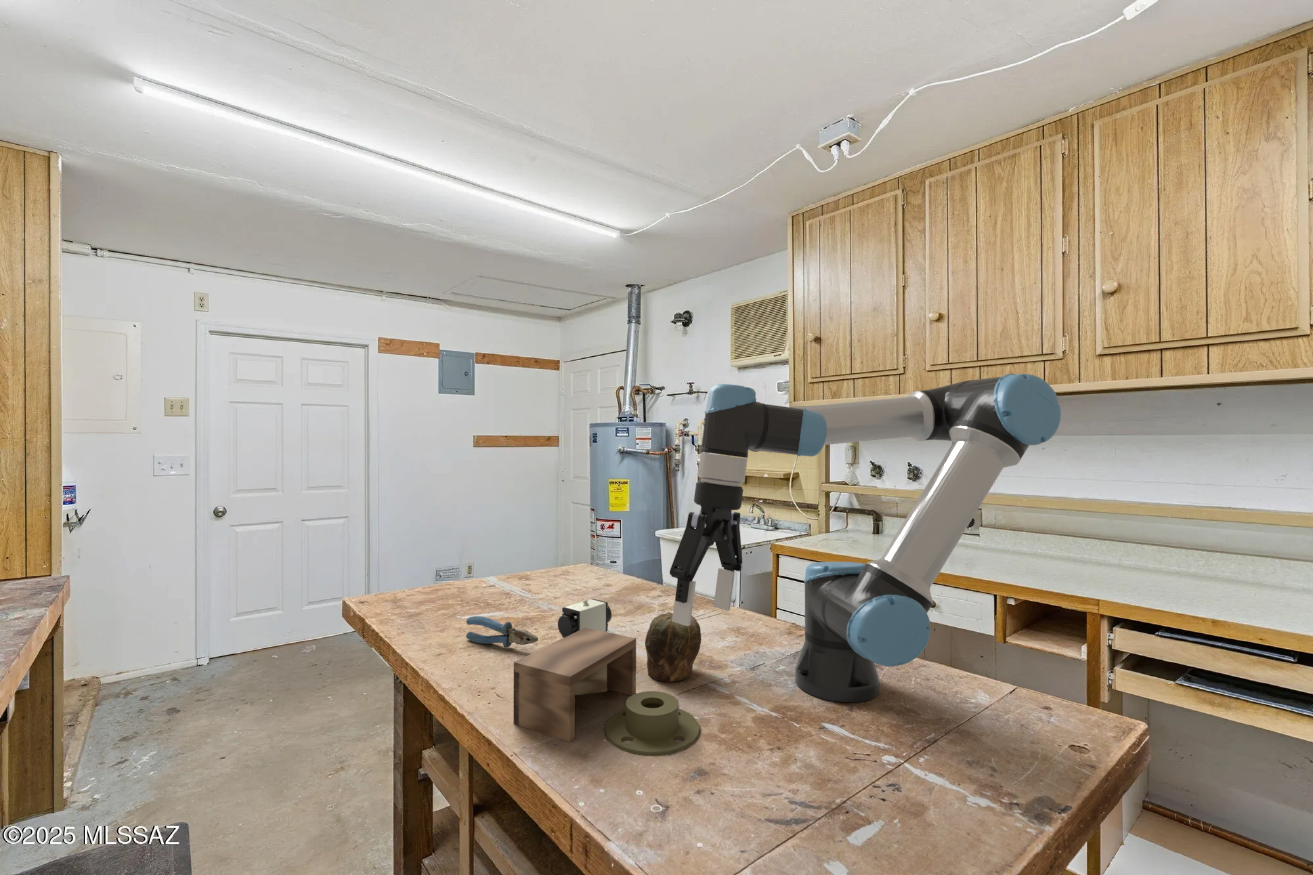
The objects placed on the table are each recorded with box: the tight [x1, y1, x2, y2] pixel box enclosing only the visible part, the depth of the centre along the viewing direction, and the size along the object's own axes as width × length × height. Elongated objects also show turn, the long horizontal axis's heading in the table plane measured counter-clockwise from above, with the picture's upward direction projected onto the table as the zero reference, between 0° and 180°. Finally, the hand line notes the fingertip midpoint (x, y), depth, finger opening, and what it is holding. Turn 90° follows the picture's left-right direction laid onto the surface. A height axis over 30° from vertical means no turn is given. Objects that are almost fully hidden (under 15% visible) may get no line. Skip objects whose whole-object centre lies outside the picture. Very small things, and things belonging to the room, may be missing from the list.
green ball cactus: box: [644, 611, 702, 683], centre depth 114 cm, size 11×11×12 cm
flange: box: [604, 690, 700, 756], centre depth 93 cm, size 5×15×15 cm
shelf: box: [513, 628, 637, 743], centre depth 100 cm, size 12×19×10 cm, turn 151°
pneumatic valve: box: [557, 598, 613, 639], centre depth 123 cm, size 6×12×12 cm, turn 141°
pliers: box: [465, 615, 539, 649], centre depth 128 cm, size 20×2×6 cm, turn 62°
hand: (702, 615), depth 92 cm, fingers open, 13 cm apart
